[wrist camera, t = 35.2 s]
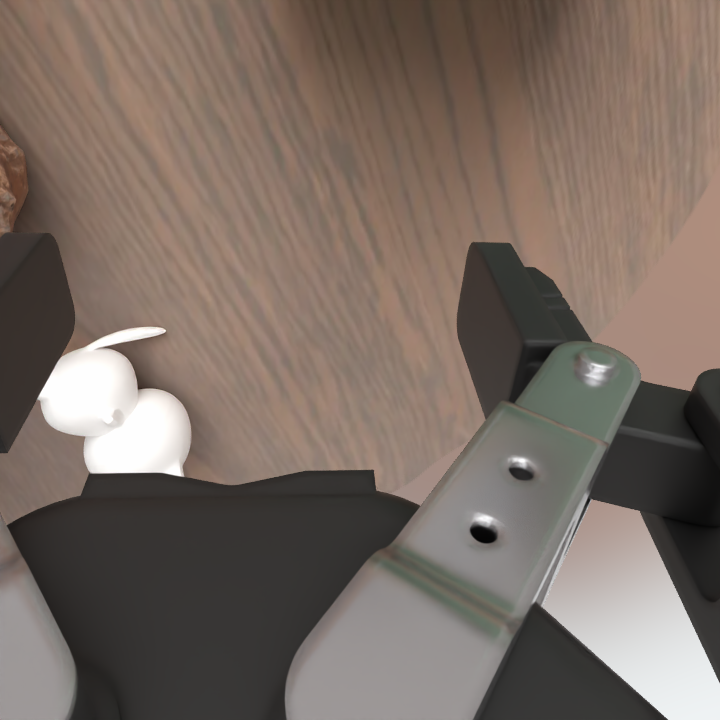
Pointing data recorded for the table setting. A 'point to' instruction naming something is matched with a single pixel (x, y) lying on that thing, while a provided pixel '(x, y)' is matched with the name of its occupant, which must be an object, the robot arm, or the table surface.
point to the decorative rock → (11, 182)
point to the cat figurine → (116, 410)
